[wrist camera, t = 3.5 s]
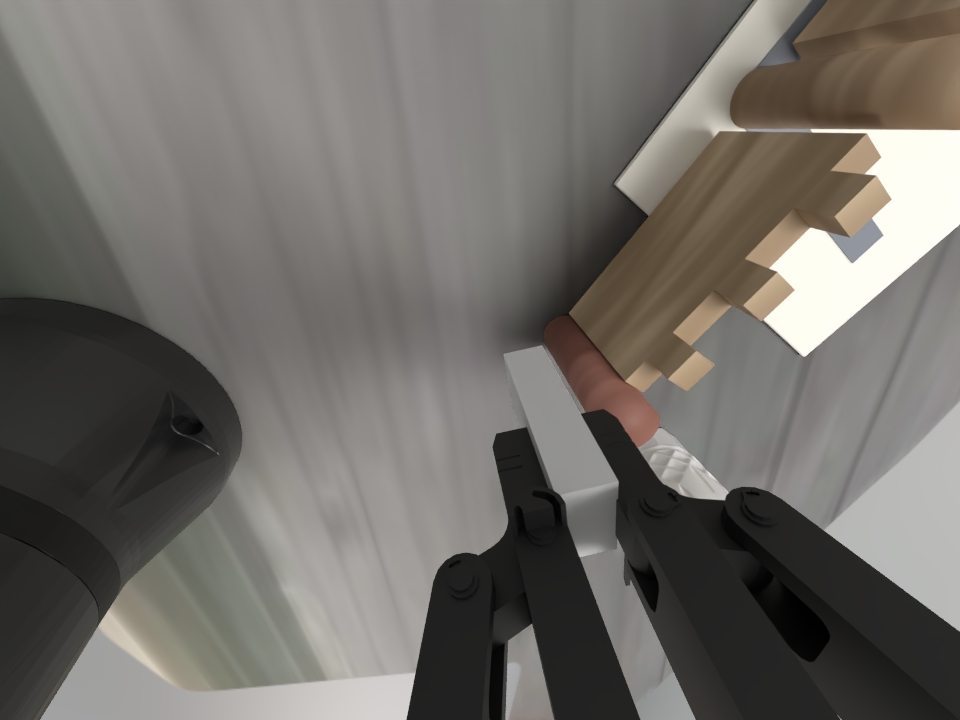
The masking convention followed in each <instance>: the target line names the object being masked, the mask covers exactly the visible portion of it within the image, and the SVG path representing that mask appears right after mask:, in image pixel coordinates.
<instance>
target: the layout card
mask: <svg viewBox="0 0 960 720" xmlns="http://www.w3.org/2000/svg"><path fill="white" fill-rule="evenodd" d="M827 1H828V0H754V1H753V2H752V4H751V5H750V6H749V8H748V9H747V10H746V11H745V13H744V14H743V15H742V17H741V18H740V19H739V21H738V22H737V23H736V25H735V26H734V27H733V28H732V30H731V31H730V32H729V34H728V35H727V36H726V38H725V39H724V40H723V42H722V43H721V44H720V45H719V47H718V48H717V49H716V51H715V52H714V53H713V55H712V56H711V57H710V59H709V60H708V61H707V62H706V64H705V65H704V66H703V68H702V69H701V70H700V72H699V73H698V74H697V76H696V77H695V78H694V79H693V81H692V82H691V83H690V85H689V86H688V87H687V89H686V90H685V91H684V93H683V94H682V95H681V96H680V98H679V99H678V100H677V102H676V103H675V104H674V106H673V107H672V108H671V110H670V111H669V112H668V113H667V115H666V116H665V117H664V119H663V120H662V121H661V123H660V124H659V125H658V127H657V128H656V129H655V130H654V132H653V133H652V134H651V136H650V137H649V138H648V140H647V141H646V142H645V144H644V145H643V146H642V147H641V149H640V150H639V151H638V153H637V154H636V155H635V157H634V158H633V159H632V161H631V162H630V163H629V164H628V166H627V167H626V168H625V170H624V171H623V172H622V174H621V175H620V176H619V178H618V179H617V180H616V181H615V183H614V185H615V186H616V187H617V188H618V189H619V190H621V191H622V192H623V193H624V194H625V195H626V196H627V197H628V198H629V199H630V200H632V201H633V202H634V203H635V204H636V205H637V206H638V207H639V208H640V209H641V210H642V211H644V212H645V213H646V214H647V215H648V216H650V214H651V213H652V212H653V211H654V210H655V208H656V207H657V206H658V205H659V204H660V202H661V201H662V200H663V199H664V197H665V196H666V195H667V194H668V193H669V191H670V190H671V189H672V188H673V187H674V185H675V184H676V183H677V182H678V181H679V179H680V178H681V177H682V176H683V175H684V173H685V172H686V171H687V170H688V169H689V167H690V166H691V165H692V164H693V162H694V161H695V160H696V159H697V158H698V156H699V155H700V154H701V153H702V152H703V150H704V149H705V148H706V147H707V146H708V144H709V143H710V142H711V141H712V140H713V138H714V137H715V136H716V135H717V134H718V132H719V131H750V132H814V133H867V134H868V136H869V138H870V139H871V141H872V143H873V144H874V146H875V148H876V149H877V151H878V153H879V154H880V156H881V158H880V159H879V160H878V161H877V162H876V163H875V164H874V165H873V166H872V167H871V168H870V169H869V170H868V171H867V172H866V173H865V174H867V175H876V176H877V177H878V179H879V180H880V182H881V183H882V185H883V186H884V188H885V190H886V191H887V193H888V194H889V196H890V198H891V199H892V200H891V201H890V202H889V203H887V204H886V205H885V206H884V207H883V208H882V209H881V210H880V211H879V212H878V213H877V214H876V215H875V216H874V217H872V218H871V219H870V220H869V221H868V222H867V223H866V224H865V225H864V226H863V227H862V228H861V229H860V230H859V231H858V232H856V233H855V234H854V235H853V236H852V237H851V238H849V237H845V236H841V235H837V234H834V233H830V232H826V231H822V230H818V229H814V228H809V229H808V230H807V231H806V232H805V233H804V234H803V235H802V236H801V237H800V238H799V239H798V240H797V241H796V242H795V243H794V244H793V245H792V246H791V247H790V248H789V249H788V250H787V251H786V252H785V253H784V254H783V255H782V256H781V257H780V258H779V259H778V260H777V261H776V262H775V263H774V264H773V265H772V266H771V267H770V268H769V269H771V270H774V271H776V272H778V273H779V274H780V275H781V276H782V277H783V278H784V279H785V280H786V281H787V282H788V283H789V284H790V285H791V286H792V288H793V289H794V290H795V291H793V292H792V293H791V294H790V295H789V296H788V297H787V298H786V299H785V300H784V301H783V302H782V303H781V304H780V305H779V306H777V307H776V308H775V309H774V310H773V311H772V312H771V313H770V314H769V315H768V316H767V317H766V318H765V319H764V320H763V321H764V322H765V323H766V324H767V325H768V326H769V327H771V328H772V329H773V330H774V331H775V332H776V333H777V334H778V335H779V336H780V337H782V338H783V339H784V340H785V341H786V342H787V343H788V344H789V345H790V346H791V347H792V348H794V349H795V350H796V351H797V352H798V353H799V354H800V355H802V356H803V357H805V356H806V355H807V354H809V353H810V352H811V351H812V350H813V349H814V348H816V347H817V346H818V345H819V344H820V343H821V342H823V341H824V340H825V339H826V338H827V337H828V336H830V335H831V334H832V333H833V332H834V331H835V330H837V329H838V328H839V327H840V326H841V325H842V324H844V323H845V322H846V321H847V320H848V319H849V318H851V317H852V316H853V315H854V314H855V313H856V312H858V311H859V310H860V309H861V308H862V307H864V306H865V305H866V304H867V303H868V302H869V301H871V300H872V299H873V298H874V297H875V296H876V295H878V294H879V293H880V292H881V291H882V290H883V289H885V288H886V287H887V286H888V285H889V284H890V283H892V282H893V281H894V280H895V279H896V278H897V277H899V276H900V275H901V274H902V273H903V272H904V271H906V270H907V269H908V268H909V267H910V266H911V265H913V264H914V263H915V262H916V261H917V260H918V259H920V258H921V257H922V256H923V255H924V254H925V253H927V252H928V251H929V250H930V249H931V248H932V247H934V246H935V245H936V244H937V243H938V242H940V241H941V240H942V239H943V238H944V237H945V236H947V235H948V234H949V233H950V232H951V231H952V230H954V229H955V228H956V227H957V226H958V225H959V224H960V130H868V129H743V128H740V127H738V126H736V125H735V124H734V123H733V121H732V119H731V116H730V103H731V99H732V95H733V93H734V91H735V89H736V87H737V85H738V84H739V82H740V81H741V80H742V79H743V78H744V77H745V76H746V75H747V74H748V73H749V72H751V71H752V70H754V69H758V68H760V67H765V66H771V65H777V64H783V63H789V62H795V61H801V60H802V59H801V57H800V56H799V54H798V52H797V51H796V49H795V48H794V46H793V45H792V43H793V42H794V41H795V39H796V38H797V37H798V36H799V35H800V33H801V32H802V31H803V30H804V28H805V27H806V26H807V25H808V24H809V22H810V21H811V20H812V19H813V18H814V16H815V15H816V14H817V13H818V12H819V10H820V9H821V8H822V7H823V6H824V4H825V3H826V2H827Z"/></svg>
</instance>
